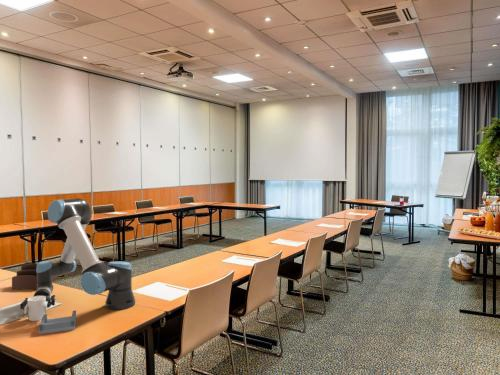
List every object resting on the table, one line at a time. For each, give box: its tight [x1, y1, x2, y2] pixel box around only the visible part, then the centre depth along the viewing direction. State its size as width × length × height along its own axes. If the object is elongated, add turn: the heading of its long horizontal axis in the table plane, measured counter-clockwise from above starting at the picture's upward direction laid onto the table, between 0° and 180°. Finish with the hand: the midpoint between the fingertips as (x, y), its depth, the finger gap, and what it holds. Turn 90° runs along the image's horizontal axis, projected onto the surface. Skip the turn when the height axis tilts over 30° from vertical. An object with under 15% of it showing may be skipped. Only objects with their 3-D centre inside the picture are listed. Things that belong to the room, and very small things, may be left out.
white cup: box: [27, 295, 46, 322], centre depth 185 cm, size 8×8×10 cm
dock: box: [38, 310, 77, 335], centre depth 175 cm, size 14×14×4 cm
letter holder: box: [11, 262, 39, 291], centre depth 237 cm, size 10×20×14 cm, turn 87°
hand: (35, 309), depth 180 cm, fingers closed on white cup, 8 cm apart
